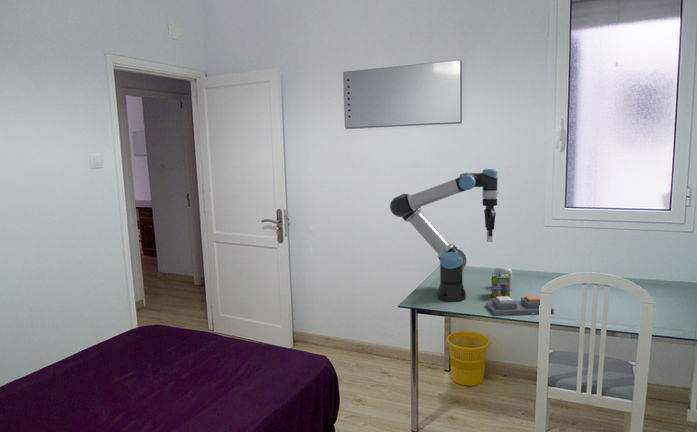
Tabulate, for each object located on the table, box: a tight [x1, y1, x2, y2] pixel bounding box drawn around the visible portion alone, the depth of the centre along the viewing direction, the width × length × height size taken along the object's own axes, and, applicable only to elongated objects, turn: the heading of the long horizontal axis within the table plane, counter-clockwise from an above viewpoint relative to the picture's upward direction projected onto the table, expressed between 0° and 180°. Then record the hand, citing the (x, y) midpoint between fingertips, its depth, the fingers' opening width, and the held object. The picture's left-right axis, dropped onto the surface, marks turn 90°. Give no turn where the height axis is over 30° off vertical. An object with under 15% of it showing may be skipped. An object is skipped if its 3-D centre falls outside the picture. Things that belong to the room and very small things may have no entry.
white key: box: [496, 296, 514, 304], centre depth 225 cm, size 6×6×2 cm
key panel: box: [485, 296, 555, 316], centre depth 226 cm, size 28×14×4 cm, turn 90°
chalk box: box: [490, 269, 511, 299], centre depth 246 cm, size 9×9×15 cm
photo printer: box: [493, 266, 514, 291], centre depth 260 cm, size 10×4×12 cm, turn 39°
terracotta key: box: [524, 294, 541, 303], centre depth 225 cm, size 6×6×2 cm
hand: (489, 241), depth 250 cm, fingers closed
